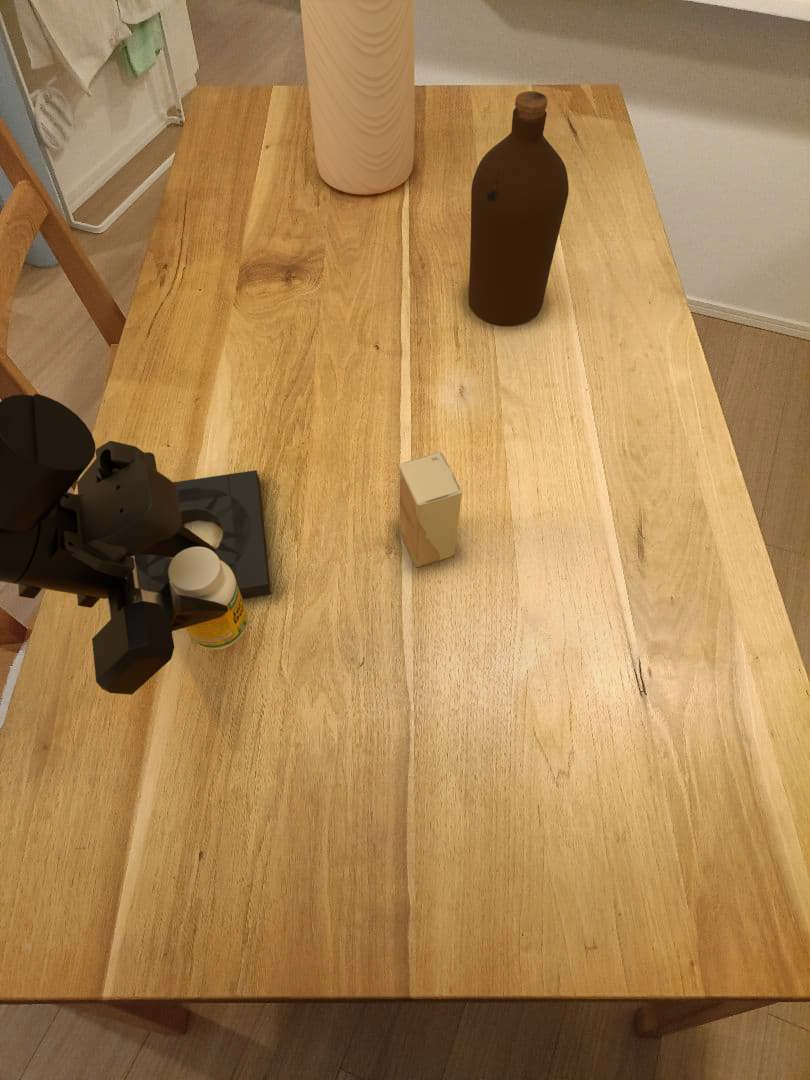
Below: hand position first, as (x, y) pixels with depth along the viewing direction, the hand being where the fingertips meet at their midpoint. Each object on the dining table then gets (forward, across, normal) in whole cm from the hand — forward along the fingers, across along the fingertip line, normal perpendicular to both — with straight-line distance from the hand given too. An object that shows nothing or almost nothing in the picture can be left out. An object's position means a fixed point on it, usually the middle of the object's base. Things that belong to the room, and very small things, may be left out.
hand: (219, 582), depth 62 cm
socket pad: (+6, +12, +10) cm, 17 cm away
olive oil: (+36, +37, -21) cm, 56 cm away
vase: (+30, +70, -15) cm, 78 cm away
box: (+22, +5, -6) cm, 23 cm away
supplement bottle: (+4, 0, +6) cm, 7 cm away
